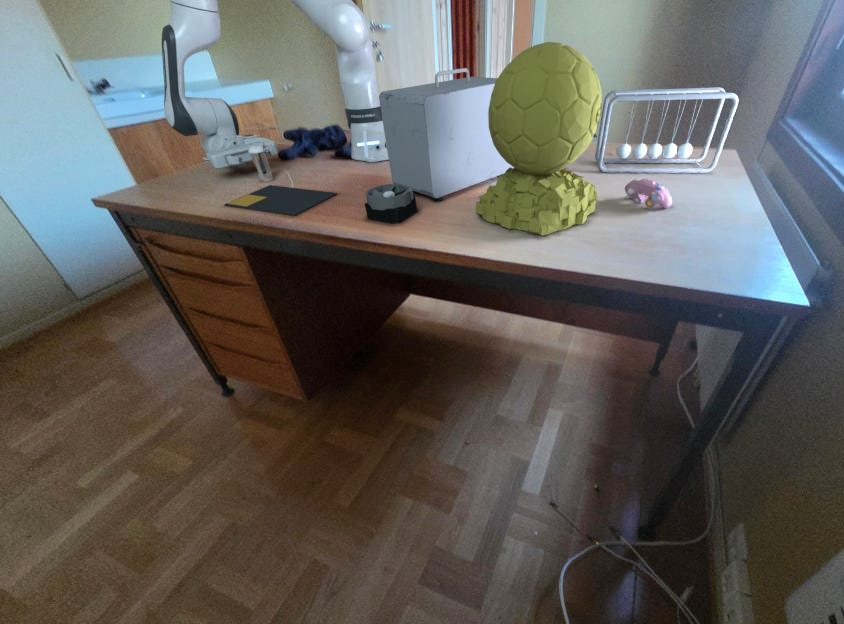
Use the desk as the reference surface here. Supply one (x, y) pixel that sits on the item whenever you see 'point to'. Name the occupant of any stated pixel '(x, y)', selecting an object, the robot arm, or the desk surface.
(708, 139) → the newton's cradle
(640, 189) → the video game controller
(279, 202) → the desk mat
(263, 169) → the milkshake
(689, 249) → the desk surface
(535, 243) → the desk surface
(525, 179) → the trophy
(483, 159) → the vintage electronic device
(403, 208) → the cpu cooler
